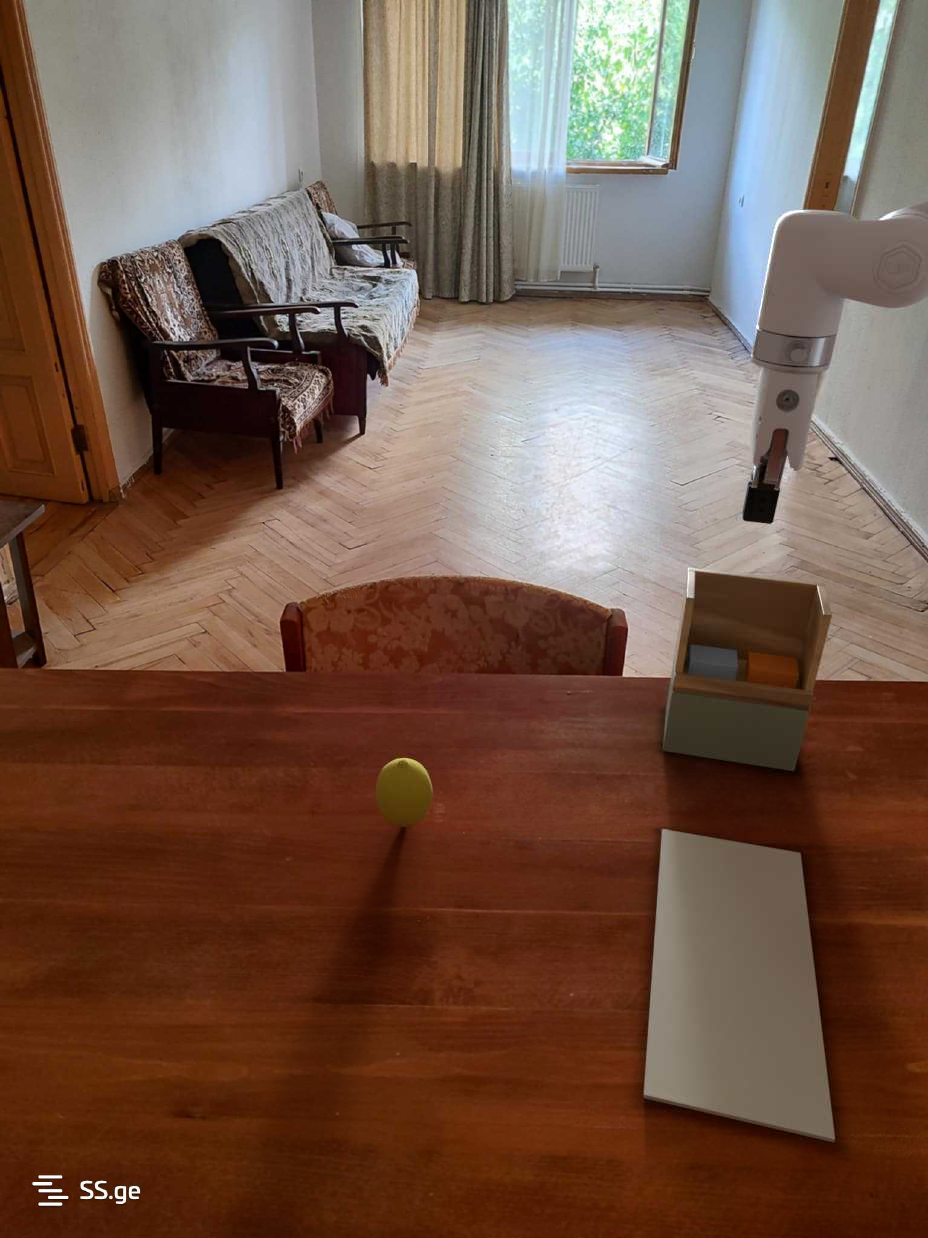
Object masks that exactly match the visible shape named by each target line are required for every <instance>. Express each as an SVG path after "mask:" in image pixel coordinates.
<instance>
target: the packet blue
mask: <svg viewBox="0 0 928 1238" xmlns="http://www.w3.org/2000/svg"><path fill="white" fill-rule="evenodd" d="M737 669H738V662H737V650H730V649H722V648H715V647H707V646H700V645H692V644H691V645H690V649H689V655H688V668H687V674H690V675H698V676H705V677H712V678H719V679H727V680H734V681H735V679H736V674H737Z"/></svg>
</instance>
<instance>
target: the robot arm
mask: <svg viewBox="0 0 928 1238" xmlns="http://www.w3.org/2000/svg"><path fill="white" fill-rule="evenodd" d="M762 290H763V291H762V296H761V301H760V302H761V303H760V306H759V312H758V317H757V322H756V327H755V333H754V340H753V344H752V348H751V355H750V362H751V363H753V364H755V365H756V366H759V367H760V371H759V375H758V382H757V387H756V392H755V398H754V404H753V410H752V417H751V422H750V423H751V424H750V433H749V448H750V457H751V463H752V468H751V474H750V480H748V481H747V485H746V491H745V497H744V502H743V506H742V512H741V514H742V520H743V521H744V522H749V523H758V524H767V525H771V524H773V523H774V521H775V515H776V510H777V506H778V501H779V497H780V493H781V482H782V478H783V475H784V470H785V466H786V461H787V459H788V463H789V467H790V469H793V471H794V472H798V471H800V470H801V469H802V468H803V465H804V460H805V455H806V449H807V443H808V437H809V433H810V427H811V422H812V417H813V412H814V405H815V401H816V400H815V398H816V394H817V387H818V386H817V385H818V376H819V373H822V372H825V371H827V370H829V369H830V366H831V361H832V357H833V353H834V347H835V344H836V340H837V335H838V331H839V326H840V322H841V318H842V314H843V309H844V305H845V301H846V300H851V301H855V302H859V303H863V304H866V305H871V306H875V307H880V308H885V309H900V308H906V307H910V306H912V305H914V304H918V303H919V302H921V301H923V300H924V299H926V298H927V297H928V199H927V200H924V201H921V202H917V203H915V204H911V205H909V206H906V207H902V208H900V209H897V210H894V211H892V212H890V213H888V214H886V215H884V216H883V217H881V218H879V219H863V220H862V219H857V218H856V217H855V215H852V214H850V213H846V212H841V211H836V210H835V211H833V210H826V209H825V210H823V209H797V210H790V211H788V212H786V213H784V214H782V215H781V217H779V219H778V220H777V222H776V225H775V228H774V232H773V235H772V242H771V246H770V252H769V257H768V263H767V268H766V273H765V279H764V285H763V289H762Z"/></svg>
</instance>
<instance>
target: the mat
mask: <svg viewBox="0 0 928 1238" xmlns="http://www.w3.org/2000/svg"><path fill="white" fill-rule="evenodd" d="M660 839H661V840H660V853H659V867H658V881H657V895H656V896H657V897H656V912H655V923H654V924H655V927H654V937H653V938H654V940H653V953H652V954H653V955H652V966H651V967H652V968H651V981H650V982H651V983H650V999H649V1011H648V1024H647V1025H648V1026H647V1041H646V1055H645V1069H644V1072H645V1073H644V1082H643V1083H644V1084H643V1099H645V1100H650V1101H655V1102H659V1103H663V1104H667V1105H671V1106H676V1107H680V1108H685V1109H689V1110H693V1111H698V1112H701V1113H706V1114H711V1115H714V1116H718V1117H723V1118H726V1119H727V1118H728V1119H732V1120H735V1121H740V1122H744V1123H748V1124H753V1125H758V1126H762V1127H766V1128H771V1129H775V1130H779V1131H783V1132H788V1133H792V1134H797V1135H801V1136H805V1137H808V1138H812V1139H818V1140H822V1141H826V1142H830V1143H835V1141H836V1135H835V1128H834V1127H835V1126H834V1119H833V1109H832V1103H831V1102H832V1101H831V1095H830V1086H829V1085H830V1084H829V1078H828V1069H827V1061H826V1060H827V1059H826V1053H825V1043H824V1037H823V1028H822V1027H823V1026H822V1020H821V1019H822V1018H821V1011H820V1004H819V995H818V994H819V993H818V986H817V979H816V978H817V977H816V969H815V960H814V954H813V946H812V945H813V944H812V936H811V929H810V921H809V919H810V918H809V913H808V904H807V896H806V887H805V878H804V871H803V862H802V854H801V852H797V851H792V850H785V849H780V848H775V847H770V846H764V845H757V844H751V843H746V842H739V841H734V840H730V839H729V840H728V839H723V838H717V837H711V836H705V835H700V834H694V833H693V834H692V833H688V832H683V831H682V832H681V831H676V830H670V829H666V828H665V829H664V828H662V829H661V838H660Z"/></svg>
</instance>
